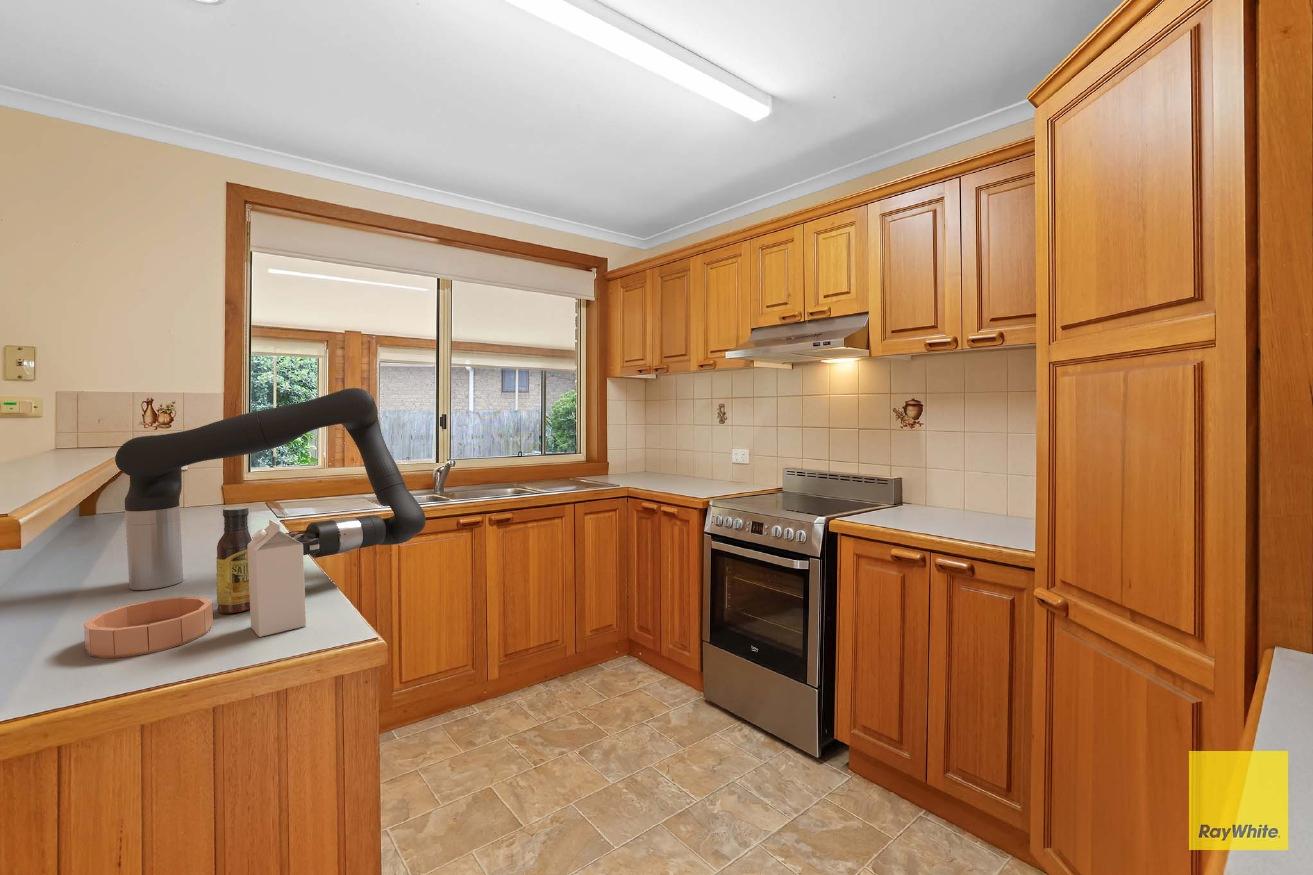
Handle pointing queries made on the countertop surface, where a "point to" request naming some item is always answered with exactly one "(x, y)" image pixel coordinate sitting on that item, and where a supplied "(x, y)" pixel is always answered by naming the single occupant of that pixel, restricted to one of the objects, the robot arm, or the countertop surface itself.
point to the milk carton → (276, 581)
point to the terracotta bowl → (147, 627)
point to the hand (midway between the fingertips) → (248, 551)
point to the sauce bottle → (233, 562)
